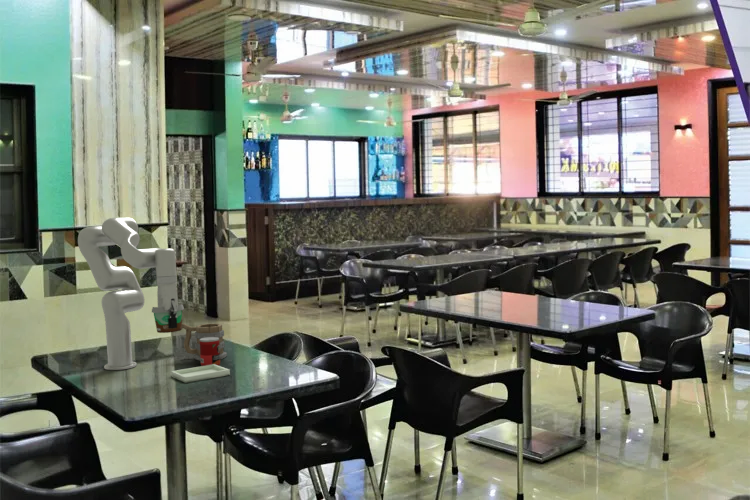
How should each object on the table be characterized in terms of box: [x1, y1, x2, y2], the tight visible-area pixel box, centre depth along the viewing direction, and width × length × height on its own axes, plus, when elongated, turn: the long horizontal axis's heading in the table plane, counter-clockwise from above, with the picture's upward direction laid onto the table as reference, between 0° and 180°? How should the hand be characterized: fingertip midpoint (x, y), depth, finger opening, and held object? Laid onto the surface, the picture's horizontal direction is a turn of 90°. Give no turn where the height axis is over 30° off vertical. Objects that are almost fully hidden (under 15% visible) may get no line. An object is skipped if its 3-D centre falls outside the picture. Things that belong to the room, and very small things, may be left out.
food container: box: [151, 303, 185, 334], centre depth 299 cm, size 12×6×10 cm, turn 117°
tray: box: [170, 364, 231, 383], centre depth 299 cm, size 14×18×2 cm
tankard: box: [182, 322, 228, 362], centre depth 333 cm, size 20×13×15 cm, turn 80°
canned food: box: [200, 337, 221, 366], centre depth 317 cm, size 8×8×11 cm
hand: (170, 326), depth 300 cm, fingers closed on food container, 5 cm apart
